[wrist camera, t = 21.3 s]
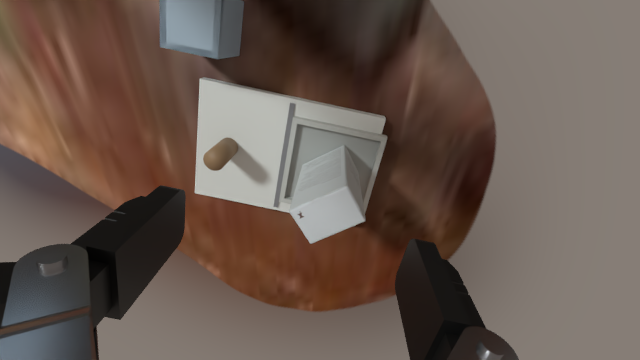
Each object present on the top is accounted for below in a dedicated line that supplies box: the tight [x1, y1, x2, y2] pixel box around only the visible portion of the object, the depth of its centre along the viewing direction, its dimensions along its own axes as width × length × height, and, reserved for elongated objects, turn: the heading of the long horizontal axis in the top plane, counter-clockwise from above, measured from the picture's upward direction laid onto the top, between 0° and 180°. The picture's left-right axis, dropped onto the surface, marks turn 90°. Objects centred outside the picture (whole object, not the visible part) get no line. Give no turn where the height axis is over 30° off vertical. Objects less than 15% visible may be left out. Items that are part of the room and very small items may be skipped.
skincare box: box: [289, 145, 366, 244], centre depth 35 cm, size 6×4×12 cm
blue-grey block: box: [160, 0, 244, 59], centre depth 33 cm, size 6×6×7 cm
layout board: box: [195, 77, 387, 213], centre depth 39 cm, size 23×15×6 cm, turn 79°
